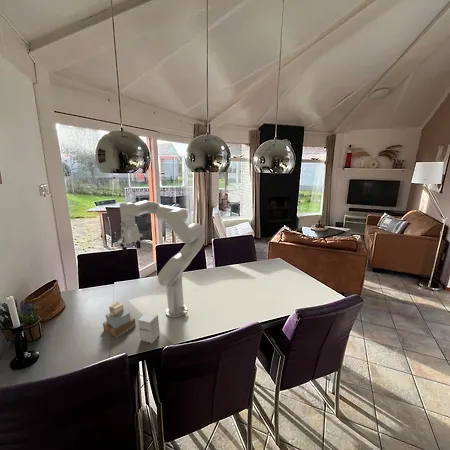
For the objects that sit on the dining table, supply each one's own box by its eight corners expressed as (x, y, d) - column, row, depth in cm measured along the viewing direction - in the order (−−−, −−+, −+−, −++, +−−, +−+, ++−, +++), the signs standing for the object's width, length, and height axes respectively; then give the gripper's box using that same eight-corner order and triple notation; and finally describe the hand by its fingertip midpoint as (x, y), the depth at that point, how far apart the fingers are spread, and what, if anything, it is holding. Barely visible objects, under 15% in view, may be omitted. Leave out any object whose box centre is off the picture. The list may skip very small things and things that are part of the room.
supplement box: (140, 341, 134) (137, 319, 130) (149, 332, 140) (146, 311, 137) (152, 344, 131) (149, 322, 128) (160, 335, 138) (158, 314, 135)
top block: (130, 320, 143) (129, 312, 142) (115, 329, 137) (114, 320, 135) (122, 315, 149) (121, 307, 148) (107, 322, 142) (105, 314, 141)
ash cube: (123, 312, 143) (122, 304, 142) (116, 316, 139) (115, 308, 137) (117, 309, 145) (116, 301, 144) (110, 314, 141) (108, 306, 140)
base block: (135, 326, 146) (134, 319, 145) (117, 338, 136) (115, 330, 135) (122, 320, 153) (121, 312, 151) (104, 331, 143) (102, 323, 142)
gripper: (119, 227, 143) (123, 256, 147) (144, 220, 157) (147, 247, 161) (111, 225, 147) (115, 254, 151) (136, 219, 161) (139, 245, 165)
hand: (132, 250), depth 156 cm, fingers open, 9 cm apart
